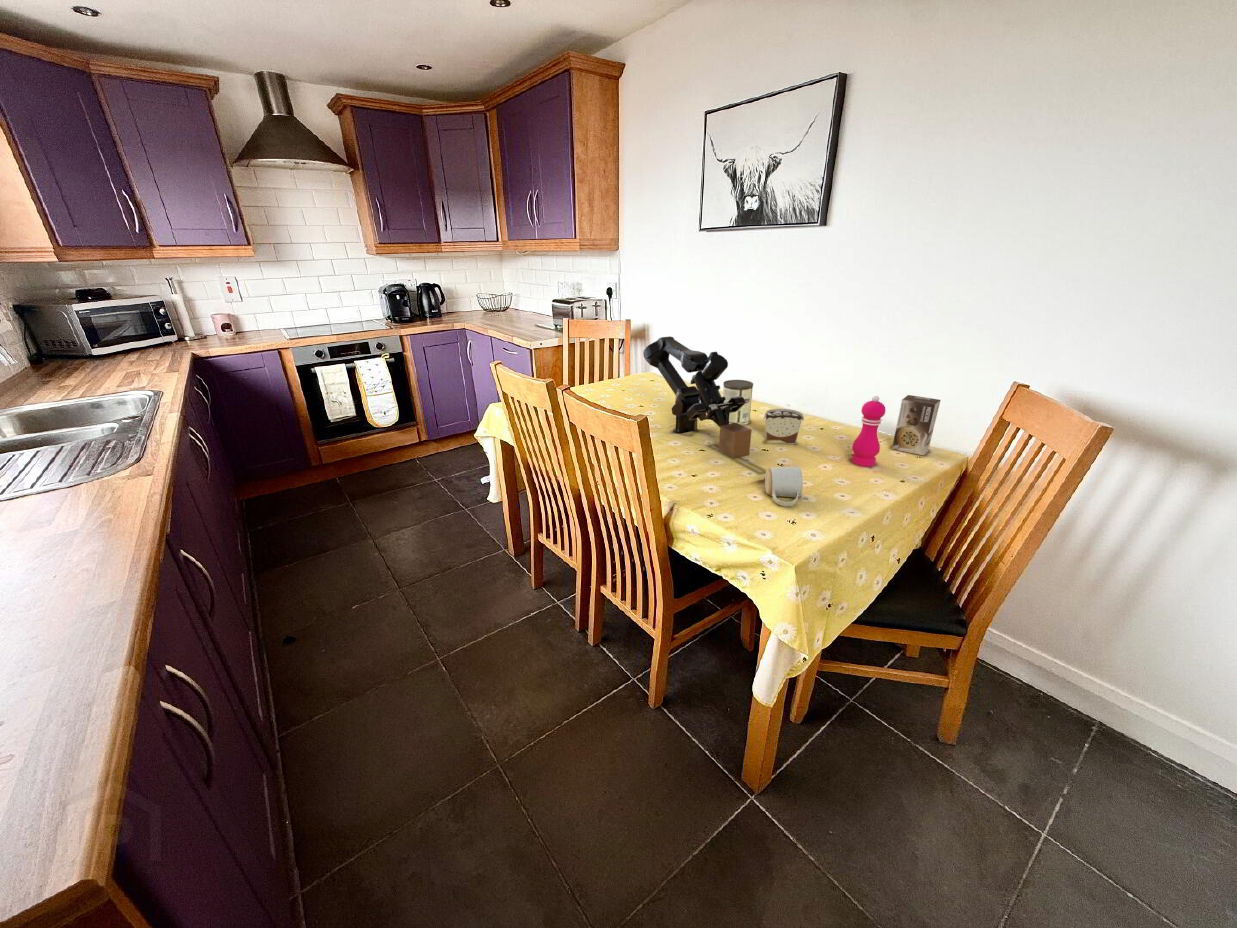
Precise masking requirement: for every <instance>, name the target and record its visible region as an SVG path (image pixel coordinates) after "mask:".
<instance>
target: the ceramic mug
mask: <svg viewBox="0 0 1237 928" xmlns="http://www.w3.org/2000/svg"><path fill="white" fill-rule="evenodd" d="M764 486H765V493H766V494H767V495H768V496H771V497H772V499H773V501H774V503H776V504H777V505H779V506H781V507H786V508H788V507H793V506H795V505H796V503H797V502H798V500H799V498H800V497H801V496H802V493H803V488H804V487H803V486H804V479H803V472H802V468H801V467H800V466H783V467H782V466H778V467H777V466H775V467H769V468H767V469H766V471H765V476H764ZM778 497H781V498H783V497H784V498H794V499H793V500H791V501H782V500H781V499H779V498H778Z"/></svg>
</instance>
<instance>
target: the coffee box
mask: <svg viewBox="0 0 1237 928" xmlns="http://www.w3.org/2000/svg"><path fill="white" fill-rule="evenodd" d="M940 404H941V399H938V398H933V397H925V396H920V395H919V396H918V395H913V394H912V395H911V394H907V395H906V396H905V397H904V398H901V404H900V408H899V413H898V417H897V423H896V426H895V431H894V436H893V441H892V445H891V450H896V451H901V452H905V453H909V454H910V453H911V454H915V455H920V456H925V455H926V454H927V453H928V452H929V449H930V445H931V440H932V437H933V433H934V432H933V431H934V429H935V424H936V421H937V416H938V412H939V409H940Z"/></svg>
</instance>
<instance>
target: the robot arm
mask: <svg viewBox="0 0 1237 928" xmlns="http://www.w3.org/2000/svg"><path fill="white" fill-rule="evenodd" d="M642 352H643V353H642V355H643V358H644V360H645V361H646V362H647V363H648V364H649V366H651V367H654V368H656V369H657V370H658V371H659V373H660V374H661V376H662V377H663V379H664V380H665V382H666V383H667V385H668V386H669V388H670V389H671V391H672V392H673V394H674V396H675V400H674V404H673V406H672V407H671V414H672V415H673V416H675V428H674V430H673V433H676V434H687V433H692V432H697V431H698V420H699V421H700V422H703V421H706V420H709V421H712V422H713V423H715V424H716V425H717V427H718V428H720V426H723V425H728V424H729V415H730V413H733V412H736V411H738V410H739V409H740V408H741V407H742V406H743V405H744V404H745V403H746V402H745V400H744V398H743V397H741V396H739V397H733V398H731V399H730V400H729V401H728V402H727V403H724V401H725V400H726V399H725V397H723V396H722V395H721V392H720V390H721V386H720V385H717V383H716V382H715V381H716V380H718V379H719V378H720V377H721V376H722V374H723V373H724V372H725V371H726V370H727V368H729V367H728V366H729V362H728V360H727V359H726V358H725V357H724V356H723V355H721V354H719V353H718V351H710V353H709V355H707V354H706V353H705V352H703V351H699V350H692V349H690V348H688V347H687V346H686V345H684V344H682V343H681V342H680V341H678V340H676V339H675V338H674V337H673V336H661V337H659V338H658V339H657V340H656V341H653V342H651V343H650V344H648V345H646V346H645V348H644V350H643V351H642ZM670 356H672V357H674V358H675V359H676V360H678V361H679V362H680V365H681V368H682V369H683V370H684V371H685V372H686V373H688V374H689V373H690V374H691V373H695V374H694V375H691V379H690V385H692V386H688V385H687V383H686V382H685V380H684V379H683V377H682V376H681V375H680V373H679V372H678V371H677V369H676V367H675V366H674V364H673V363H672V362H671V360H670Z"/></svg>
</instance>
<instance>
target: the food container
mask: <svg viewBox="0 0 1237 928" xmlns="http://www.w3.org/2000/svg"><path fill="white" fill-rule="evenodd" d="M804 419H805V418H804V414H803V413H802V412H801V411H798V410H794V409H789V408H772V409H768V410H766V412H765V413H764V416H763V420H765V434H764V435H765V440H766V441H780V442H783V443H786V444H788V445H796V444H797V441H798V436H799V433H800V429H801V425H802V421H805V420H804Z"/></svg>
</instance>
